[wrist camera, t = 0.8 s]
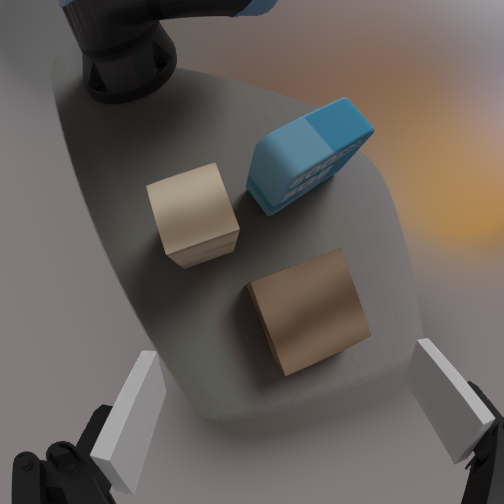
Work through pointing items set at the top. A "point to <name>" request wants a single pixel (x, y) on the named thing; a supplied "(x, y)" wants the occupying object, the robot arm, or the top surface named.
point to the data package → (305, 154)
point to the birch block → (194, 216)
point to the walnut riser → (309, 311)
